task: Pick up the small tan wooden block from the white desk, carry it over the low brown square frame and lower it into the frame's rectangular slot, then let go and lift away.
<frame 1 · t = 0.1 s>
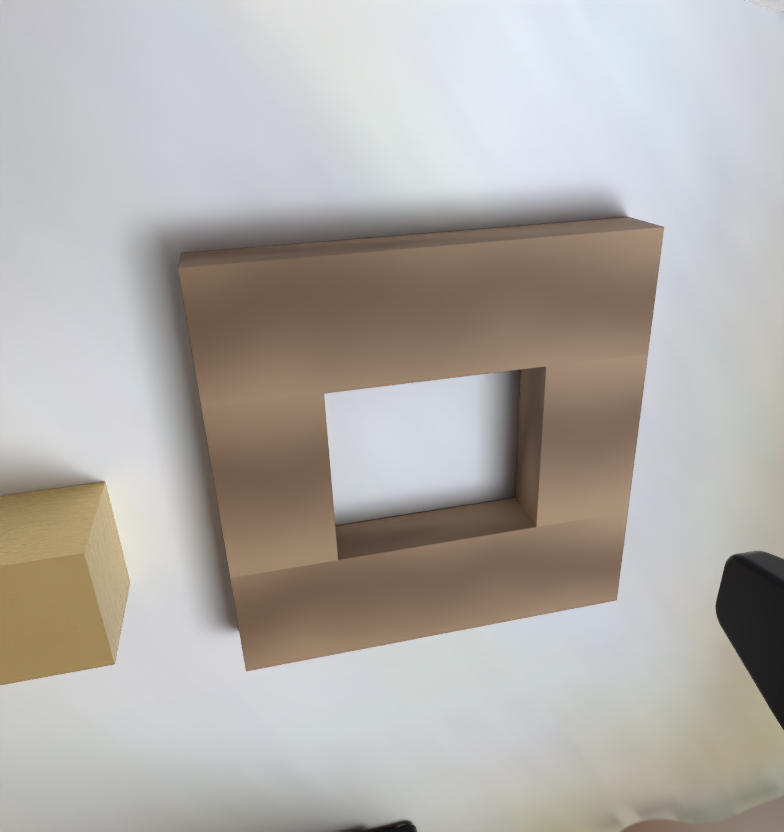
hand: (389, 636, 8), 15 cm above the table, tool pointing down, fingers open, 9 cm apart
tan wooden block: (38, 543, 23), on the table
brown square frame: (423, 438, 24), on the table
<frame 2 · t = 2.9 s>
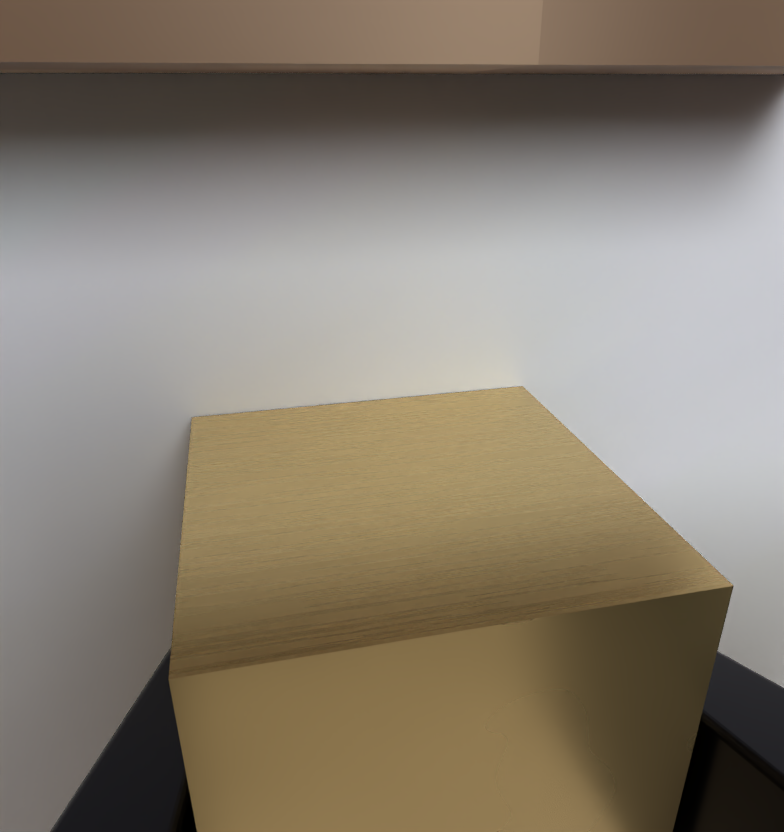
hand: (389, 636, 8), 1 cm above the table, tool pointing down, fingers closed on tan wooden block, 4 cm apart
tan wooden block: (369, 572, 9), on the table, touching gripper
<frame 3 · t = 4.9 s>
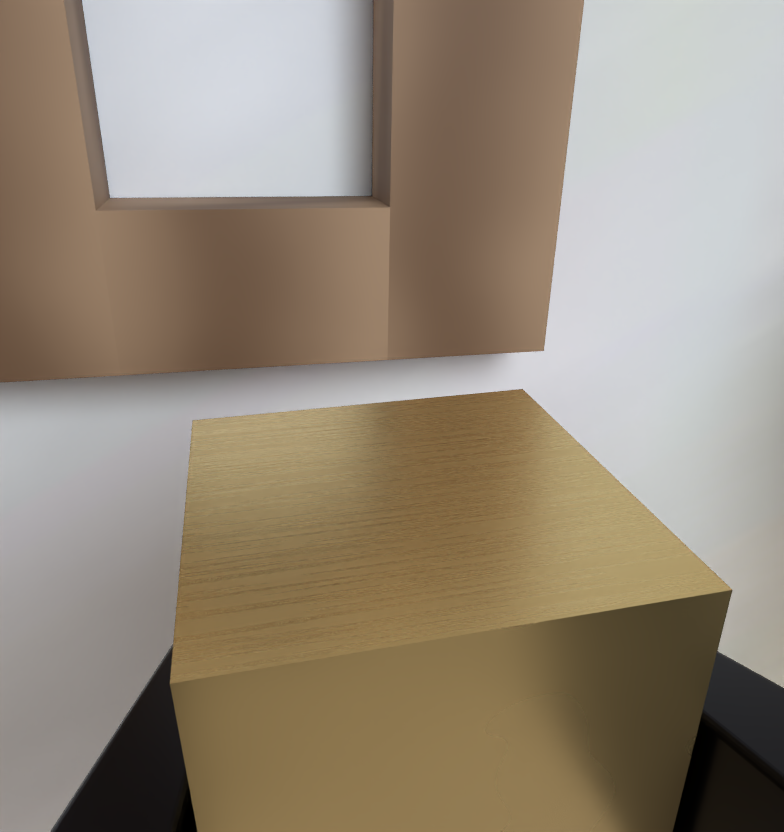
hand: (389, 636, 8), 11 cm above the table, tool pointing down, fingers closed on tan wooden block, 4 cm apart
tan wooden block: (369, 574, 9), point 10 cm above the table, touching gripper
brown square frame: (234, 25, 15), on the table
when the fingers open (3 cm above the table, at t = 7.4 s): tan wooden block drops 2 cm, resting in brown square frame.
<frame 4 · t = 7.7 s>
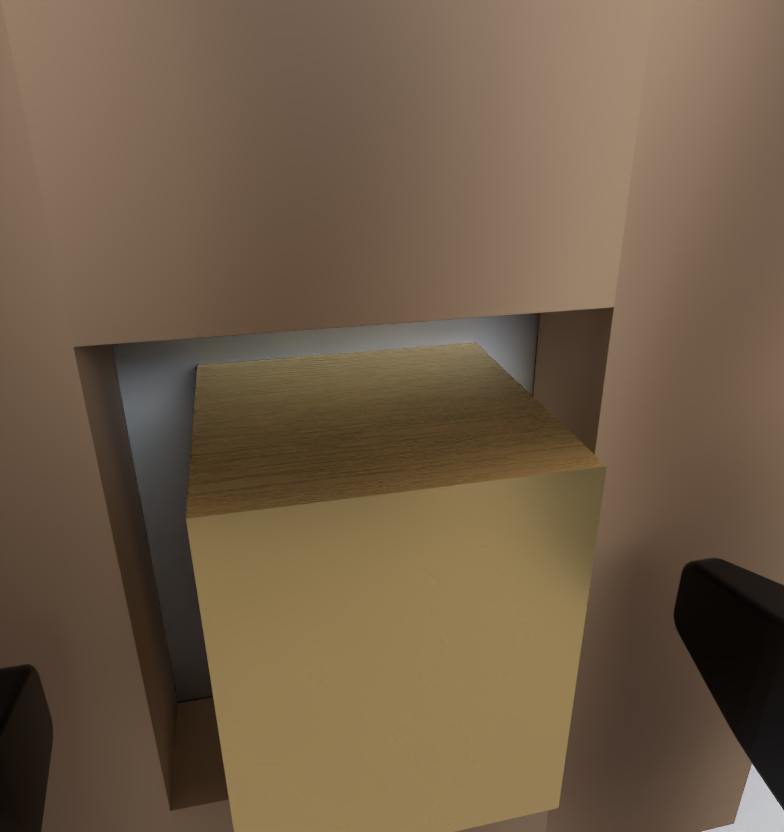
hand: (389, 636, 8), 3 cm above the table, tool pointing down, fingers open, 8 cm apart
tan wooden block: (346, 500, 11), resting in brown square frame
brown square frame: (346, 504, 11), on the table
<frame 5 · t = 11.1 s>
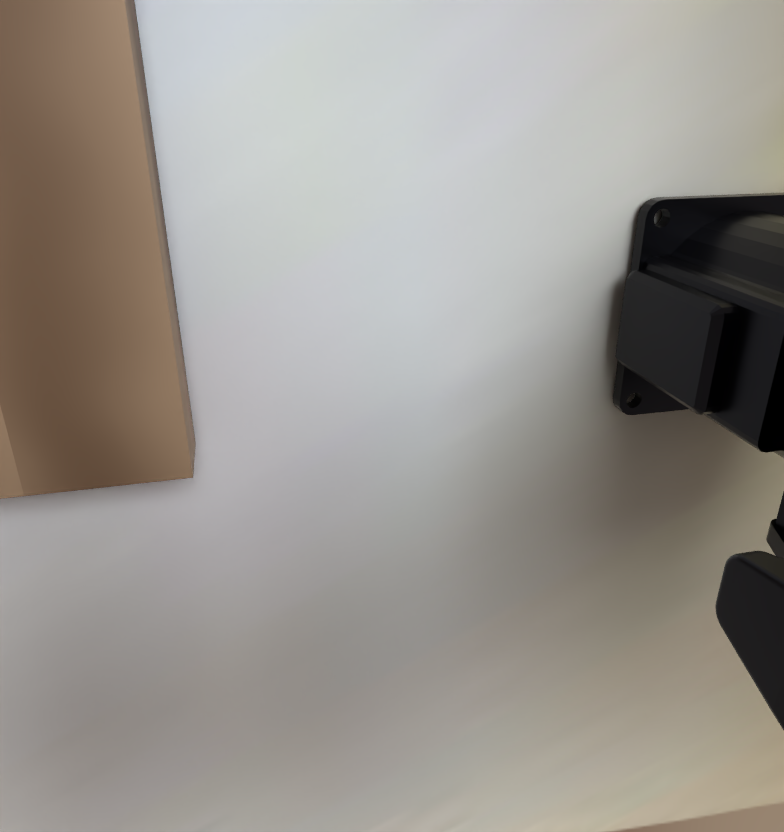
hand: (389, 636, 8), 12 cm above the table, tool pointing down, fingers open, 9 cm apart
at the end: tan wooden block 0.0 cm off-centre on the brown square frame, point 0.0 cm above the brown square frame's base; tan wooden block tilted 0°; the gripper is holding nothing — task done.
